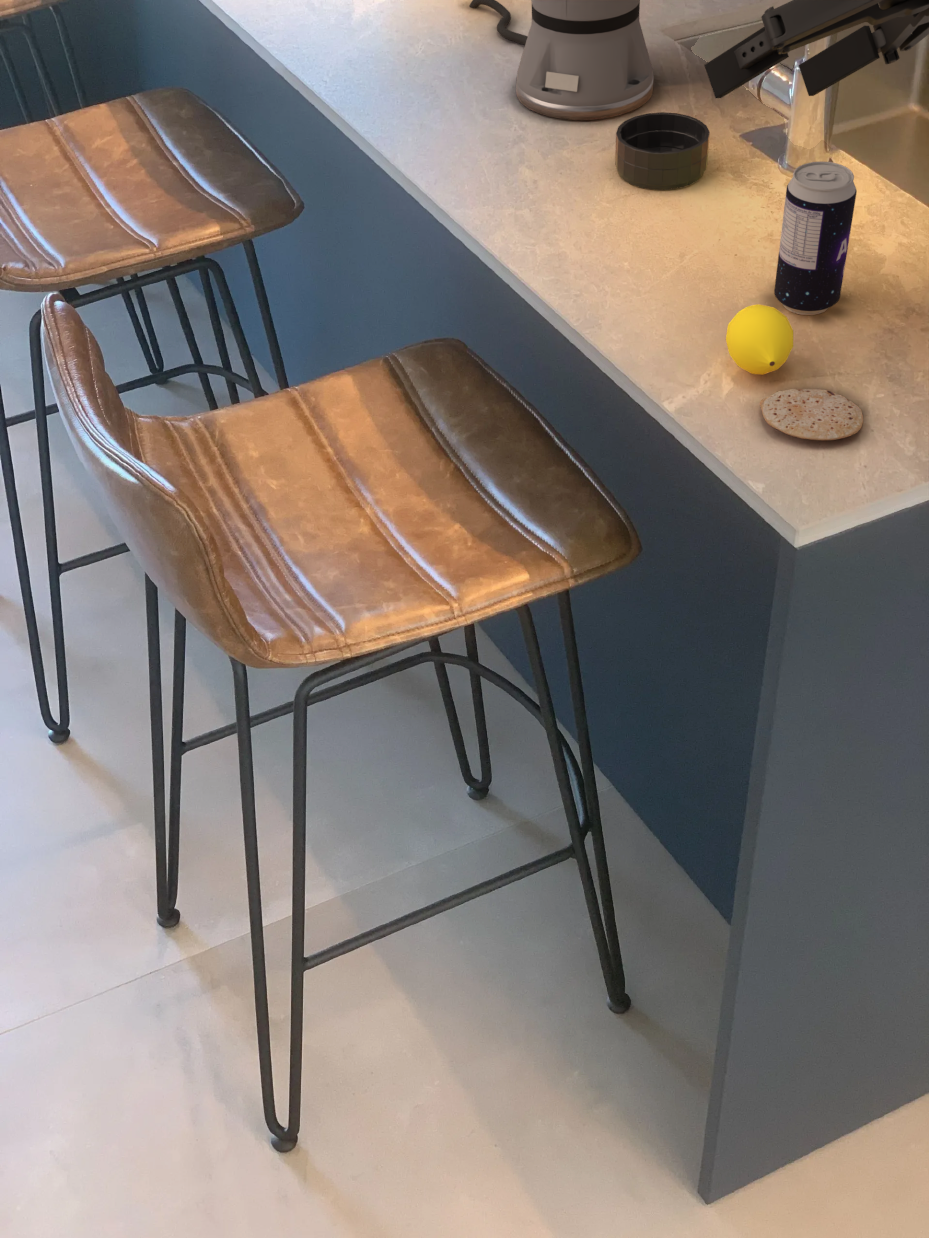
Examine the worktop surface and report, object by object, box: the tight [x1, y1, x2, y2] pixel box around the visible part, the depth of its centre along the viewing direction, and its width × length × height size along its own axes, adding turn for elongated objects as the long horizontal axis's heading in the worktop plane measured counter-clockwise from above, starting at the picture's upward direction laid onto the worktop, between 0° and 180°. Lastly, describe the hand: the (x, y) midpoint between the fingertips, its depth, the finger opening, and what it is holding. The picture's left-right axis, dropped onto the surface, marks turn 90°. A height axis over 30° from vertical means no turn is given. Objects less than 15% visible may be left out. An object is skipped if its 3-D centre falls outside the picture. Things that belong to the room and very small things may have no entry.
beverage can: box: [773, 161, 857, 316], centre depth 119 cm, size 6×6×12 cm
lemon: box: [725, 303, 794, 375], centre depth 115 cm, size 7×5×5 cm
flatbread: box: [759, 388, 864, 441], centre depth 111 cm, size 8×8×1 cm
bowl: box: [614, 111, 711, 191], centre depth 142 cm, size 9×9×4 cm
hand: (760, 81), depth 113 cm, fingers open, 13 cm apart
